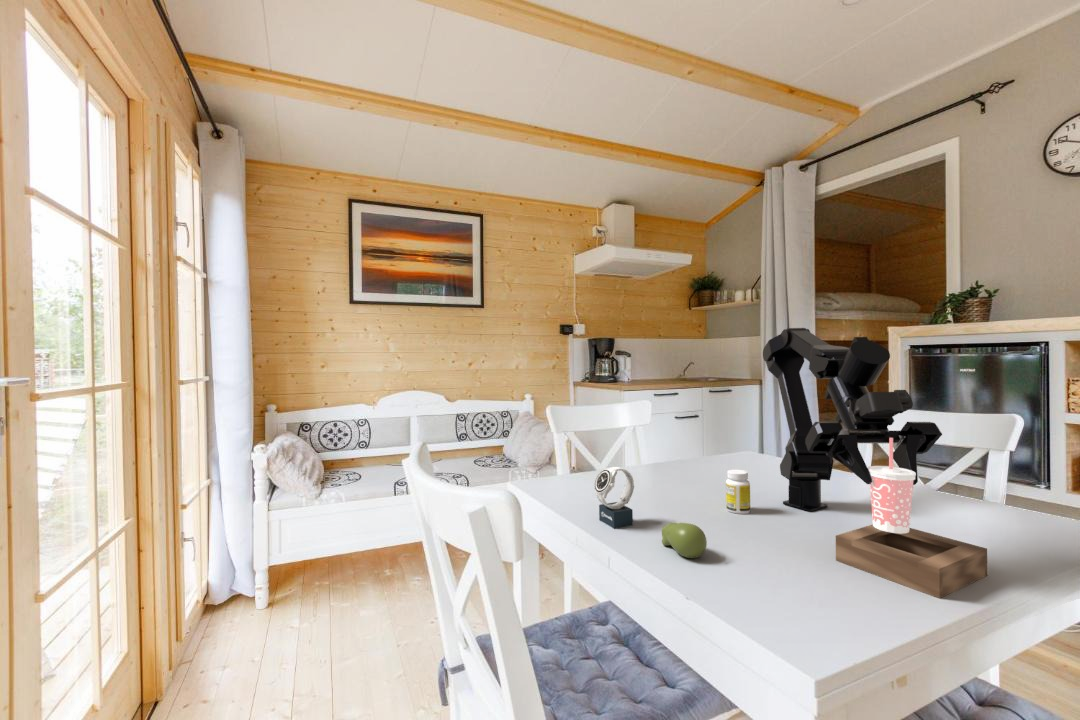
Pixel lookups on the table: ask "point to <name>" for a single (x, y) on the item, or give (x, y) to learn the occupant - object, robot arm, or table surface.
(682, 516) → the table surface
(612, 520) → the watch
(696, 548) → the pear
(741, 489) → the supplement bottle
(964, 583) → the walnut box
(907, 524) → the beverage cup
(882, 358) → the robot arm
